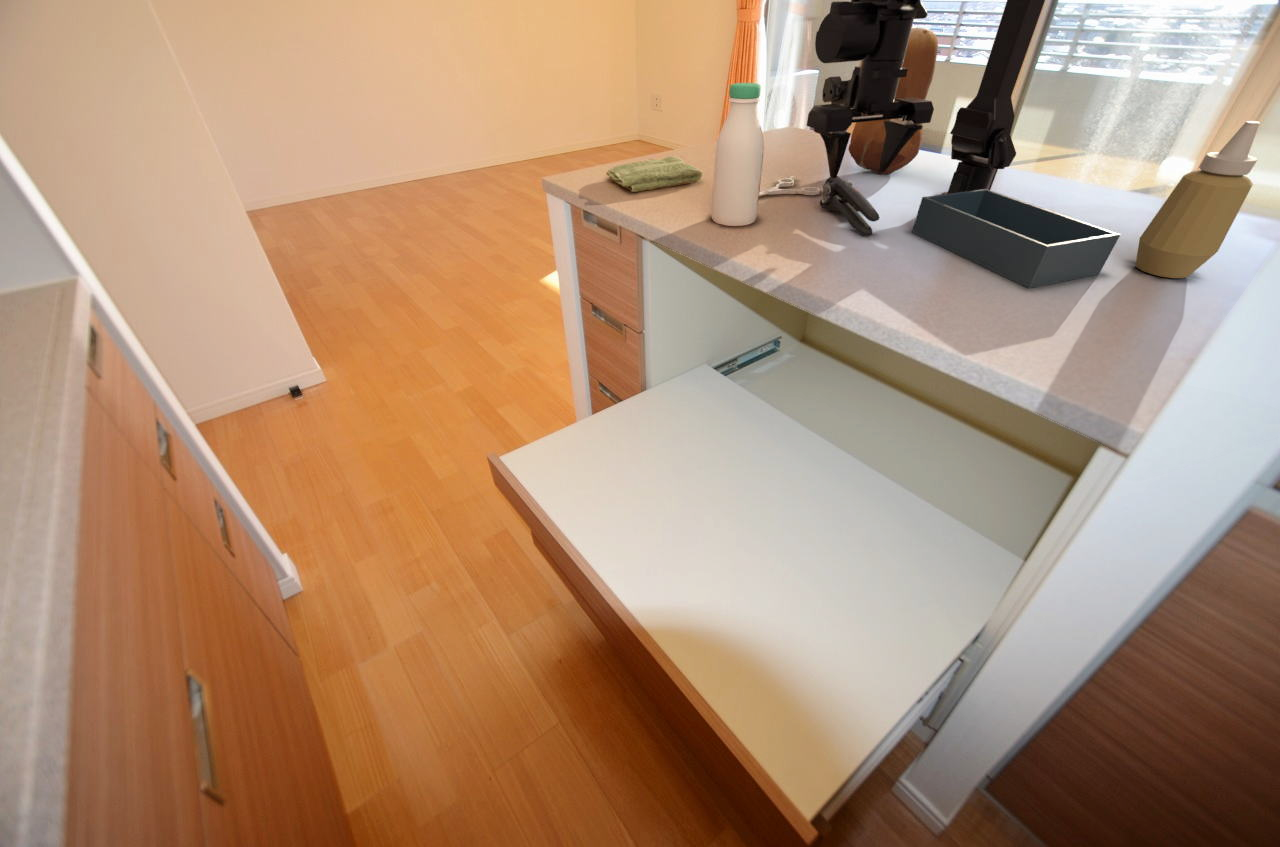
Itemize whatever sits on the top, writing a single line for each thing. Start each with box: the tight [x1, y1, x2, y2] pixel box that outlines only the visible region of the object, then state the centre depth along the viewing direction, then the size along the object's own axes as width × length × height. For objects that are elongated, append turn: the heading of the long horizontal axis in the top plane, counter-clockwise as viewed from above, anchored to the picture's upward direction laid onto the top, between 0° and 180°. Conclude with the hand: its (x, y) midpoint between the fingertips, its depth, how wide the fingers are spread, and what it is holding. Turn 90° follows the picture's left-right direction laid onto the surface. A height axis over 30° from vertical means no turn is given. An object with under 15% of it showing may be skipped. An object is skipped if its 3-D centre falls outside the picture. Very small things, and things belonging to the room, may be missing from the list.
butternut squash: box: [847, 27, 939, 175], centre depth 107 cm, size 14×13×25 cm
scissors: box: [759, 175, 821, 197], centre depth 104 cm, size 11×1×20 cm
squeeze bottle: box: [1135, 120, 1261, 279], centre depth 68 cm, size 8×8×18 cm
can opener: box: [819, 175, 880, 237], centre depth 90 cm, size 18×7×6 cm, turn 4°
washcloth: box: [606, 155, 703, 193], centre depth 112 cm, size 13×18×3 cm
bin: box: [911, 189, 1121, 289], centre depth 78 cm, size 12×22×6 cm, turn 18°
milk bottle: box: [710, 82, 765, 227], centre depth 87 cm, size 8×8×20 cm
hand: (857, 174), depth 87 cm, fingers open, 9 cm apart
